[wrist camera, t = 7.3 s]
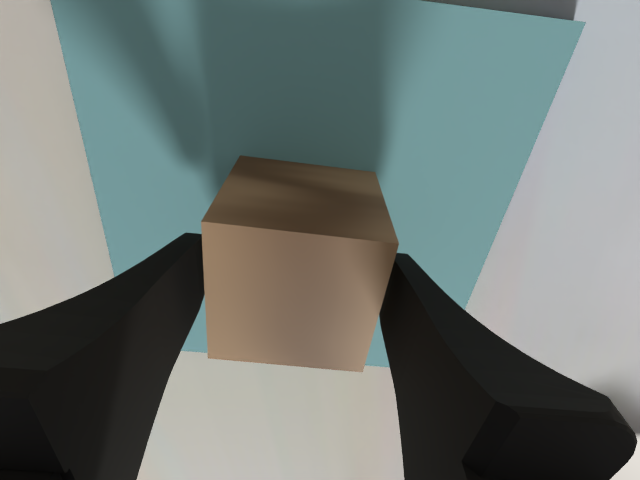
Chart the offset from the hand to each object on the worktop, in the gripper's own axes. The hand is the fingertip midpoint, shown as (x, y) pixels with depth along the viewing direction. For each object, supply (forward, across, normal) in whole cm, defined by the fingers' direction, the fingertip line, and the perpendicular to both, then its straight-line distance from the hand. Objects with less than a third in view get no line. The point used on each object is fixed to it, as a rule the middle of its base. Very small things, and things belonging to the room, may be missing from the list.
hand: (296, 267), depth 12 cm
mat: (+3, 0, 0) cm, 3 cm away
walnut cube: (+3, 0, 0) cm, 3 cm away
